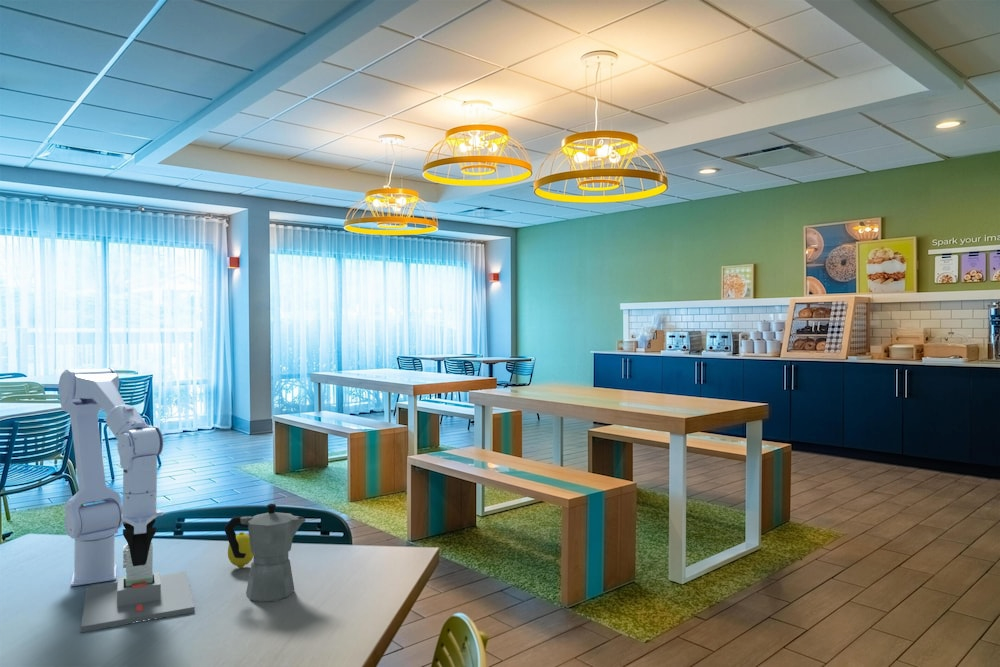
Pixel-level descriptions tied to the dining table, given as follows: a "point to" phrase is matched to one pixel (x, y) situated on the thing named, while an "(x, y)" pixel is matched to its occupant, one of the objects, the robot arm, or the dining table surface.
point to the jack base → (136, 601)
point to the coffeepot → (267, 552)
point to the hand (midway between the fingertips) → (139, 560)
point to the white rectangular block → (137, 568)
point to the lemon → (241, 550)
